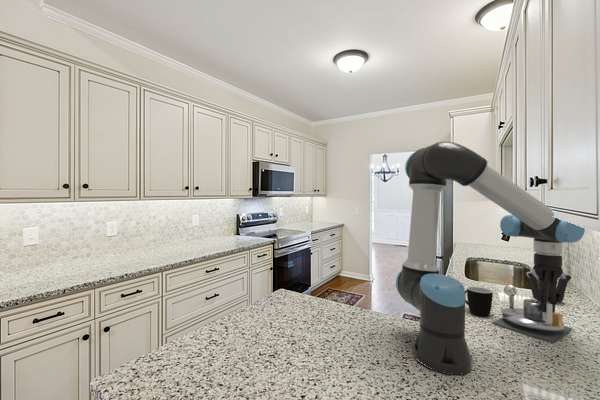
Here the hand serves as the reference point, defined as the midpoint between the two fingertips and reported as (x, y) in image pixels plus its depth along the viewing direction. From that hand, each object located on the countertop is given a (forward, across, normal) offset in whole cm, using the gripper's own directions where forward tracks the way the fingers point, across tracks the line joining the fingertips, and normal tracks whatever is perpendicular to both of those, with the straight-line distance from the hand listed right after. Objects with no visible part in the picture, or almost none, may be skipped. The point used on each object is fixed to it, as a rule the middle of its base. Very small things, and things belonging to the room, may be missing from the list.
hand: (547, 321), depth 99 cm
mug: (+5, -16, +18) cm, 24 cm away
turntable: (+3, -1, +7) cm, 8 cm away
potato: (+5, +25, +42) cm, 49 cm away
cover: (+1, -1, +5) cm, 6 cm away
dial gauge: (+5, -1, +21) cm, 22 cm away
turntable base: (+5, -1, +7) cm, 9 cm away
